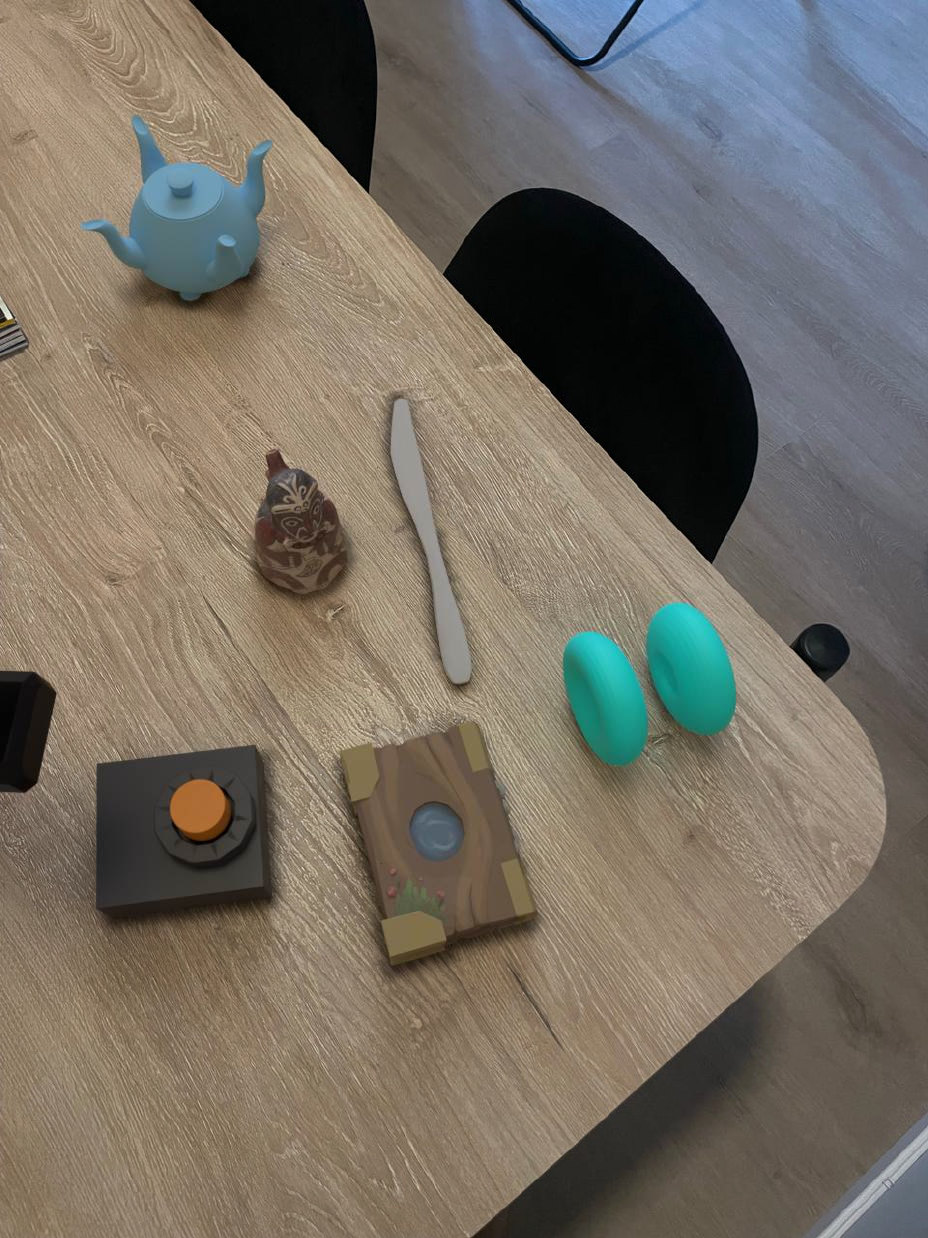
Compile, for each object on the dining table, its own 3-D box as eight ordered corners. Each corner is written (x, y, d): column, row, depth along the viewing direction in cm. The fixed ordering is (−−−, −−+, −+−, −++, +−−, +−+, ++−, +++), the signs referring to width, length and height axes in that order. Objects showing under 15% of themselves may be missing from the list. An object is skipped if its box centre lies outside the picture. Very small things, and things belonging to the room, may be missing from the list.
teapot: (288, 226, 102) (275, 137, 92) (248, 334, 96) (230, 251, 87) (157, 201, 102) (131, 111, 93) (110, 307, 97) (77, 222, 88)
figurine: (272, 605, 85) (250, 530, 74) (246, 531, 88) (221, 448, 77) (358, 577, 86) (349, 499, 75) (330, 505, 89) (317, 420, 78)
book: (341, 768, 80) (336, 747, 75) (483, 730, 81) (486, 707, 77) (391, 966, 74) (389, 957, 69) (543, 921, 76) (551, 908, 71)
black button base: (112, 919, 75) (88, 904, 69) (112, 780, 79) (89, 755, 73) (272, 898, 76) (260, 881, 70) (263, 762, 80) (251, 736, 74)
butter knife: (437, 686, 82) (475, 678, 82) (380, 401, 93) (413, 395, 93) (437, 689, 82) (475, 681, 83) (380, 405, 94) (414, 399, 94)
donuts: (550, 670, 84) (565, 616, 74) (667, 631, 85) (695, 574, 76) (600, 788, 80) (622, 746, 71) (721, 745, 81) (758, 699, 72)
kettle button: (177, 844, 71) (170, 836, 69) (176, 792, 73) (168, 782, 71) (232, 837, 72) (226, 829, 70) (229, 785, 73) (224, 775, 71)
